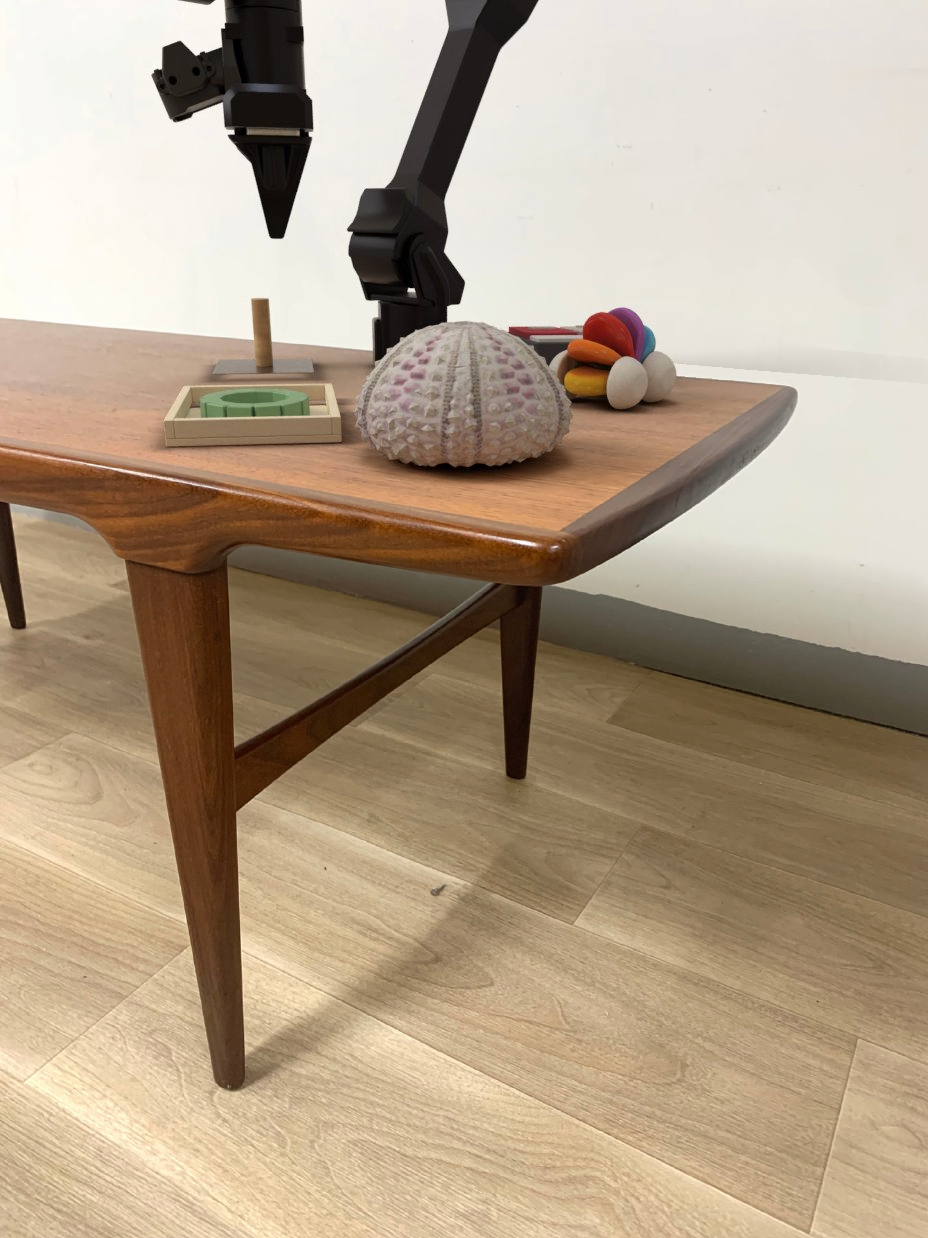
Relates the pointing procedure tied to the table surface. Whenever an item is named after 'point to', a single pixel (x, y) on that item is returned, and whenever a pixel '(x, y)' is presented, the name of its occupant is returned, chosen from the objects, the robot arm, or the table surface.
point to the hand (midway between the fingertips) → (277, 237)
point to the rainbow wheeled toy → (615, 361)
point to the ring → (254, 403)
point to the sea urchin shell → (462, 399)
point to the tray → (252, 420)
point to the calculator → (548, 338)
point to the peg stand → (263, 350)
